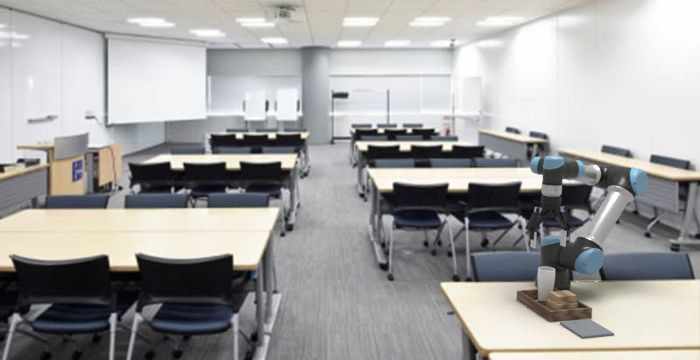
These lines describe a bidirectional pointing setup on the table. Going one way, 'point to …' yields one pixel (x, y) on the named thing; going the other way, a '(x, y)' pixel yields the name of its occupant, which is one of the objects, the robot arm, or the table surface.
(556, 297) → the offcut top
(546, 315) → the tray
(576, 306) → the offcut middle
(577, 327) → the mat
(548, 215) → the robot arm
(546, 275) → the drinking glass
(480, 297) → the table surface
